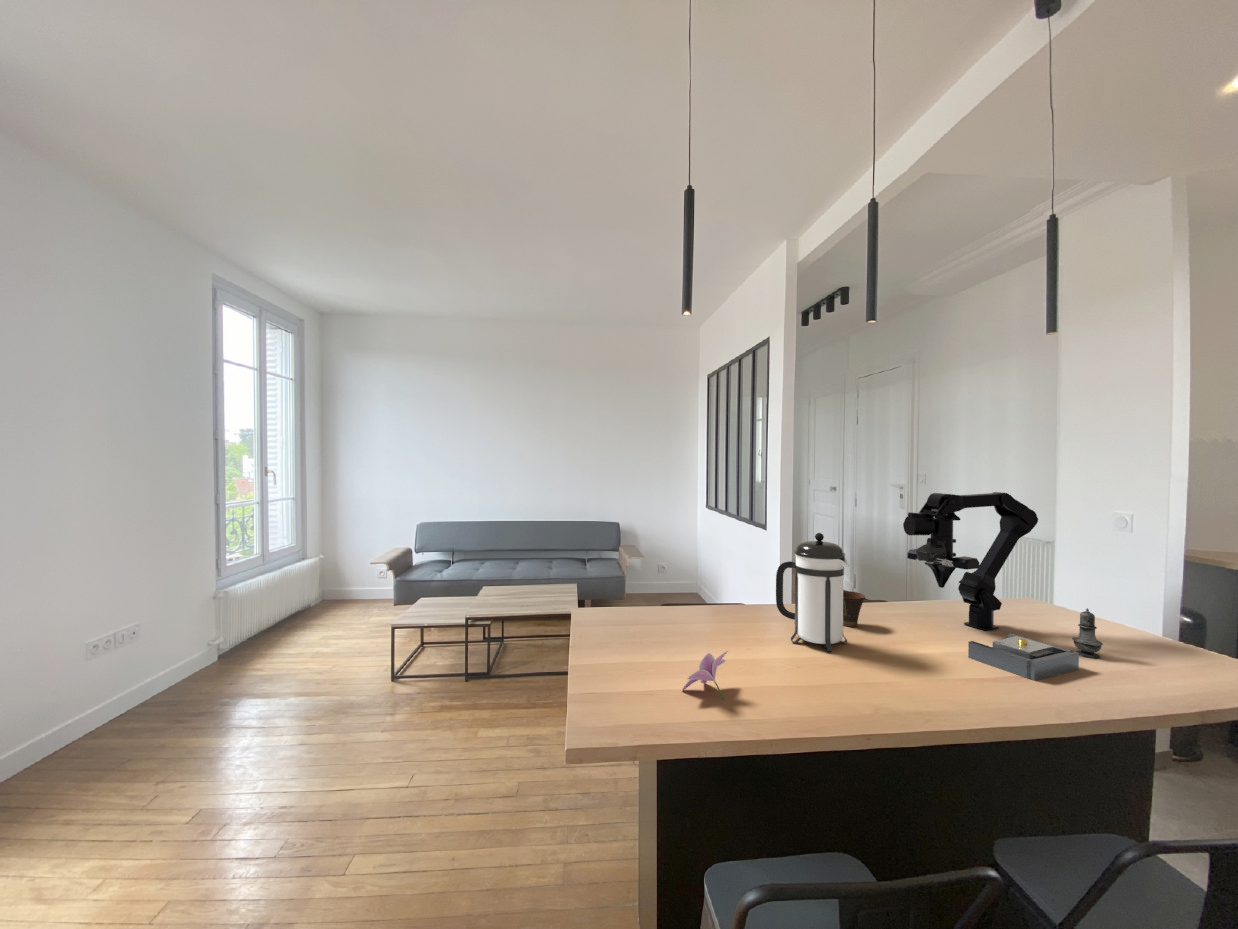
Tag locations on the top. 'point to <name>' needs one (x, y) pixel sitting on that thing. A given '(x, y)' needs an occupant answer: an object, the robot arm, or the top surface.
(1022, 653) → the drawer
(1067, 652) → the frame
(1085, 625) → the salt shaker
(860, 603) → the cup
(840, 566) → the coffee press
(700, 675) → the lily
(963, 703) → the top surface
